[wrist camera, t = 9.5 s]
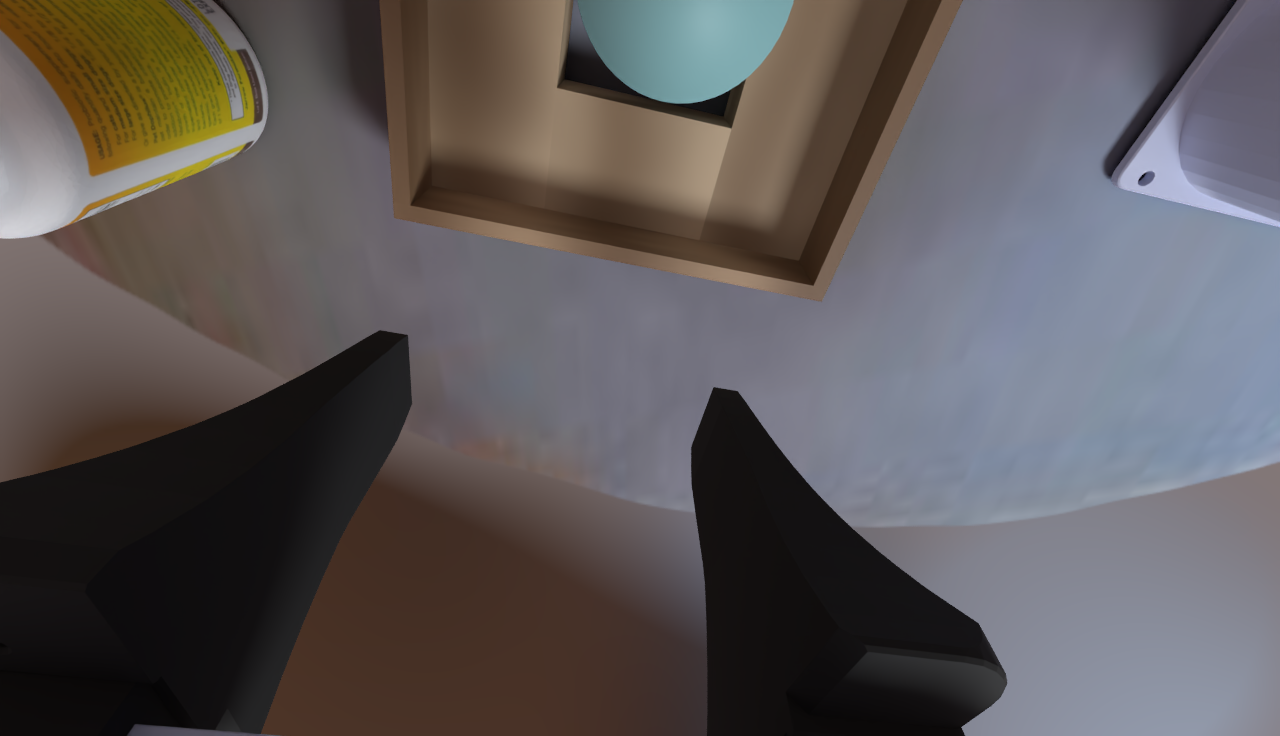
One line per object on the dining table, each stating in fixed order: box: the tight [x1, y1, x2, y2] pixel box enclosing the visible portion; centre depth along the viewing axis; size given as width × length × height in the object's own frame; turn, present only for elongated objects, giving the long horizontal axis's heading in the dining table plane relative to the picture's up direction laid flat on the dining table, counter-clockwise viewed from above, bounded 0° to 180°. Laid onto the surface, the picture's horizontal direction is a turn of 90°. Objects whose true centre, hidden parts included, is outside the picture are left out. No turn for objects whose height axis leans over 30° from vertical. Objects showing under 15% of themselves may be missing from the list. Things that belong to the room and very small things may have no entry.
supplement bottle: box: [0, 0, 268, 238], centre depth 13 cm, size 6×6×10 cm
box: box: [379, 0, 963, 302], centre depth 14 cm, size 14×14×4 cm
